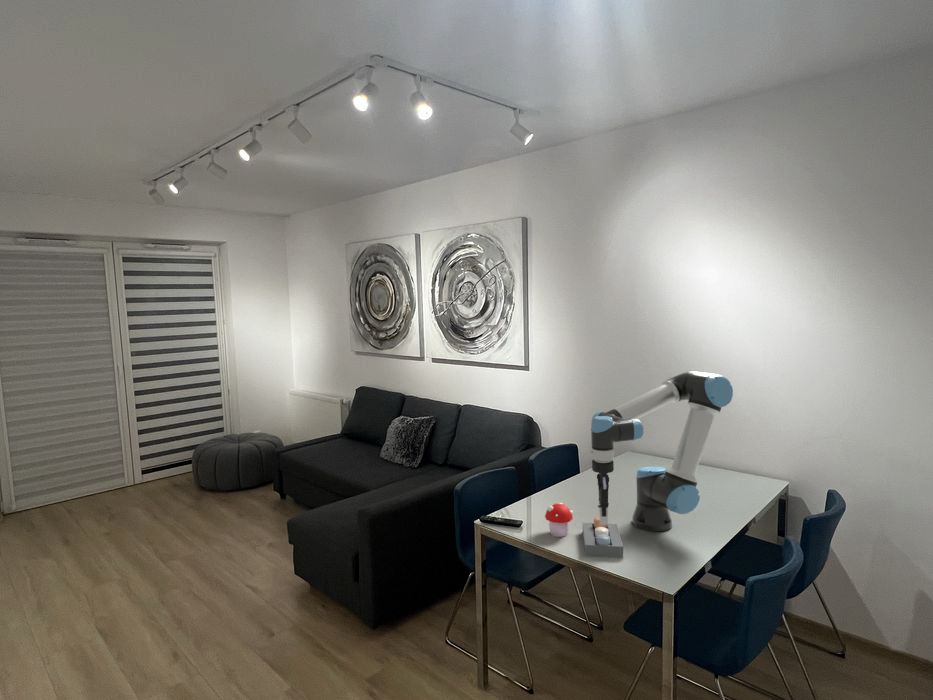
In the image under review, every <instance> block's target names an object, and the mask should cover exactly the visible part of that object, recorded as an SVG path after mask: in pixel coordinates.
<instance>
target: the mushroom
mask: <svg viewBox="0 0 933 700" xmlns="http://www.w3.org/2000/svg"><path fill="white" fill-rule="evenodd" d="M573 516H574V511H573V510H571V509H570V508H569V507H568V506H567V505H566V504H564V503H562V502H559V503H553V504H552V505H548V507H547V510H546V512H545V515H544V518H545V520H546V521H548V522H549V523H548V527H549V532H550V535H551V536H553V537H556V538H564V537H566V536H568V532H569V527H570V525H569V523H570V522H571V521H572V520H573V519H574V517H573Z"/></svg>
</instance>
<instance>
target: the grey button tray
mask: <svg viewBox="0 0 933 700" xmlns="http://www.w3.org/2000/svg"><path fill="white" fill-rule="evenodd" d="M607 529H608V536H609V537H610V545H596V537H595V530H594V522H582V538H583V546H584V554H585V557H601V558H602V557H603V558H618V559H619V558H624V545H623V542H622V538H621V534H620V531H619V527H618V524H617V523H608V525H607Z"/></svg>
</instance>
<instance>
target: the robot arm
mask: <svg viewBox="0 0 933 700" xmlns="http://www.w3.org/2000/svg"><path fill="white" fill-rule="evenodd" d="M733 396H734V390H733V386H732V384H731V381H730V380H729V379H728V378H727V377H726V376H724V375H720V374H718V373H717V374H716V373H710V372H704V371H703V372H702V371H695V370H692V371H690V370H689V371H686V372H685V371H684V372H683V373H680V374H676V375H675V376H672V377H669V378H668V379H666V380H664V381H662V383H661V385H659V386H657V387H655V388H654V389H651V390H650V391H648V392H645V393H643V394H641V395H639V396H637V397H635V398H633V399H631V400H628V401H627V402H624V403H623V404H621V405H619V406H617V407H615V408H613V409H611V410H608V411H597V412H596V413H594V415H593V416H592V418H591V422H590V423H591V424H590V431H591V433H590V435H591V436H590V437H591V450H590V451H589V453H590V454H591V458H592V460H591V470H592V471H593V472H595V473H597V474H596V479H597V487H598V505H597V508H598V509H599V517H600V525H608V524H609V521H608V520H609V519H608V517H609V516H608V513H609V512H608V508H609V506H610V505H609V487H610V486H609V485H610V484H609V482H610V476H609V473H610V474H611V473H613V472H614V469H615V468H614V467H615V466H614V465H615V464H614V463H615V462H614V458H615V457H614V443H618V442H619V443H620V442H627V441H628V442H629V441H634V440H635V441H636V440H639V439H642V437H643V435H644V432H645V431H644V424H643V423H642V422H641V420H640V418H642V417H644V416H646V415H649V414H651V413H652V412H655V411H656V410H658V409H661V408H662V407H664V406H666V405H668V404H670V403H673V404H676V403H678V402H681V401H688V402H687V404H688V407H689V408H690V409H689V413H688V416H687V418H686V421H685V424H684V427H683V432H682V434H681V437H680V440H679V444H678V446H677V449H676V452H675V456H674V458H673V461H672V464H671V467H670V468H668V469H667V468H666V467H662V466H645V467H644V466H642V467H639V468H638V470H637V471H636V477H635V478H636V505H635V508H634V511H633V514H632V518H631V519H632V521H631V522H632V524H633V525H634V526H635V528H636V527H637V528H638V529H641V530H644V531H650V532H664V531H668V530H670V529H671V528H672V527H673V522H672V521H673V519H672V517H671V513H670V512H673V513H676V514H678V515H688V514H689V513H691V512H693V511H694V510H695V509H696V508H697V507H698V505H699V502H700V499H701V496H700V491H699V489H698V488H697V485H698V480H697V477H696V475H697V470H698V468H699V464H700V462H701V458H702V456H703V452H704V448H705V445H706V442H707V440H708V436H709V433H710V430H711V426H712V424H713V421H714V417H715V416H716V415H718V414H720V413H721V410H722V408H724V407H727V406H728V405H729V404H730V403H731V402H732V400H733Z"/></svg>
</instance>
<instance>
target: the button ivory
mask: <svg viewBox="0 0 933 700" xmlns="http://www.w3.org/2000/svg"><path fill="white" fill-rule="evenodd" d="M600 534H604V535H608V529H607V528H604V527H597V528H595V537H596V536H597V535H600Z"/></svg>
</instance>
